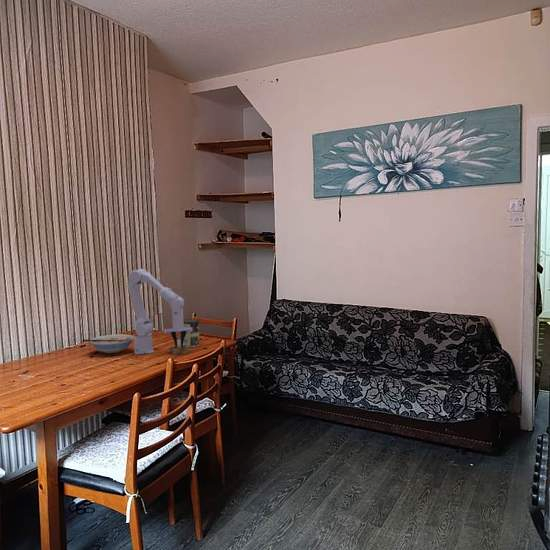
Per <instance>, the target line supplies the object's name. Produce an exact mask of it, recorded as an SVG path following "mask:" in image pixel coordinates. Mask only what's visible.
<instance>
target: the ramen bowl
mask: <svg viewBox="0 0 550 550" xmlns="http://www.w3.org/2000/svg"><path fill="white" fill-rule="evenodd" d="M134 337H135V336H134V335H132V334H124V333H123V334H119V333H118V334H107V335H105V334H104V335H100V336H96V337H94V338H93V337H92V338H91V339H82V340H81V341H82V342H84V343H85V342H86V343H87V342H90V344H91V345H92V347H93V348H94V349H95V350H96V351H98V352H100V353H105V354H107V353H108V354H109V355H111V353H114V354H117V353H120V352H121V351H124V350H126V349H127V348H129V346H131V344H132V342H134ZM108 354H107V355H108Z"/></svg>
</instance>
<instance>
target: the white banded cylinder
mask: <svg viewBox="0 0 550 550" xmlns="http://www.w3.org/2000/svg"><path fill="white" fill-rule="evenodd" d="M176 342H177V348H181V335H179V336H178V335H176Z"/></svg>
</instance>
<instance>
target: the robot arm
mask: <svg viewBox="0 0 550 550" xmlns="http://www.w3.org/2000/svg"><path fill="white" fill-rule="evenodd" d="M127 277H128V282H127V287H126V288H127V290H128V294H129V299H130V301H131V305H132V308H133V311H134V315H135V319H136V320H135V322H134V325H135V329H134V330H135V331H134V332H135V334H136V335H137V336H134V339H133V343H134V344H133V345H134V346H133V350H134V355H142V354H143V355H144V353H145V354H153V353H154V348H153V334H152V332H153V330H154V324H153V323H152V322H151V319H150V318H149V317H148V316H147V313H146V310H145V309H146V308H145V306H144V302H143V299H142V295H141V291H140V289H139V288H140V287H141V285H142V284H144V283H145V284H149V285H150V286H151V287H153V289H155V290H156V291H158V292H159V296H160V297H161V298H162V299H163V300H165V301H166V302H167V303H168V304H169V306H170V309H171V318H172V322H171V323H172V328H164V329H163V334H170V335H171V336H172V339H173V342H174V346H175V347H176V346H177V342H176V337H177V333H180V336H181V346H183V341H184V338H185V335H186V332H189V331H190V332H192V331H193V330H192V327H184V306H185V299H184V298H183V297H182V296H179V295H178V294H176V293H175V292H174V291H172V288H170V287H164V285H162V283H160V282H159V281H158V280H157V279H156V278H155V277H154V276H153V275H152V273H151V272H149V271H148V270H147V269H145V268H140V269H133V270H131V272H130V273H129V274H128V276H127Z"/></svg>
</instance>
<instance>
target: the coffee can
mask: <svg viewBox="0 0 550 550" xmlns="http://www.w3.org/2000/svg"><path fill="white" fill-rule="evenodd" d="M183 320H184V327H192V330H193V331H192V332H190V331H189V332H186V335H185V338H184V341H183V345H185V346H187V347H189V348H196V347H199V346H200V320H199V319H195V318H186V319H184V318H183Z"/></svg>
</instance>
